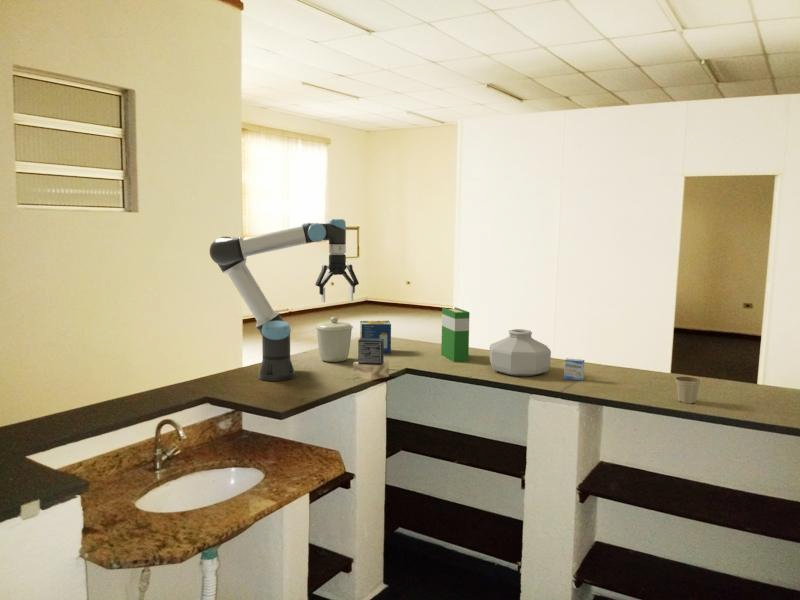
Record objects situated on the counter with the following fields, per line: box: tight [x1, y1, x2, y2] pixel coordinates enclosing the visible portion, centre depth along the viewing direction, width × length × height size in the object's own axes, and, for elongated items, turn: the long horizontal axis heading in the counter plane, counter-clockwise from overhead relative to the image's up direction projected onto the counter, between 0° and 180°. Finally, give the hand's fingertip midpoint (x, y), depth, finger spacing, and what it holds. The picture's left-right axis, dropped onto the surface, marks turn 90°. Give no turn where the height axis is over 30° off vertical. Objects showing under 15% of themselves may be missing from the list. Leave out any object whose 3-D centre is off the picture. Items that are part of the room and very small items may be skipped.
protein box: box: [359, 320, 392, 355], centre depth 334 cm, size 10×15×16 cm
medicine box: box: [563, 358, 585, 382], centre depth 280 cm, size 8×4×9 cm, turn 68°
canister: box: [314, 316, 354, 363], centre depth 312 cm, size 18×18×21 cm
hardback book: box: [440, 306, 471, 363], centre depth 320 cm, size 18×7×24 cm, turn 17°
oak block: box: [352, 361, 390, 381], centre depth 282 cm, size 10×12×6 cm
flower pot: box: [674, 375, 702, 404], centre depth 246 cm, size 9×9×9 cm
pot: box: [489, 328, 552, 377], centre depth 294 cm, size 28×28×19 cm
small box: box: [357, 338, 385, 365], centre depth 281 cm, size 11×6×10 cm, turn 85°
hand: (337, 301), depth 292 cm, fingers open, 13 cm apart
